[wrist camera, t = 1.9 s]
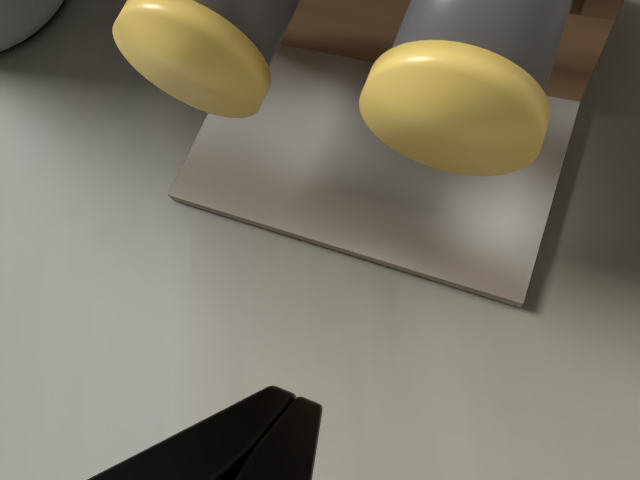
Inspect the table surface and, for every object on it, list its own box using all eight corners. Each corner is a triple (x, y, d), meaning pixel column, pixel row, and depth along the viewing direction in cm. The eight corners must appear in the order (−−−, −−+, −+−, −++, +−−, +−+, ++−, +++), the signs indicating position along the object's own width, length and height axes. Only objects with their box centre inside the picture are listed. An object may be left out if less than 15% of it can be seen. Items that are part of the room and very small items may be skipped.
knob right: (525, 191, 16) (561, 92, 11) (369, 152, 17) (346, 51, 13) (587, -18, 18) (638, -171, 13) (443, -37, 19) (446, -181, 15)
